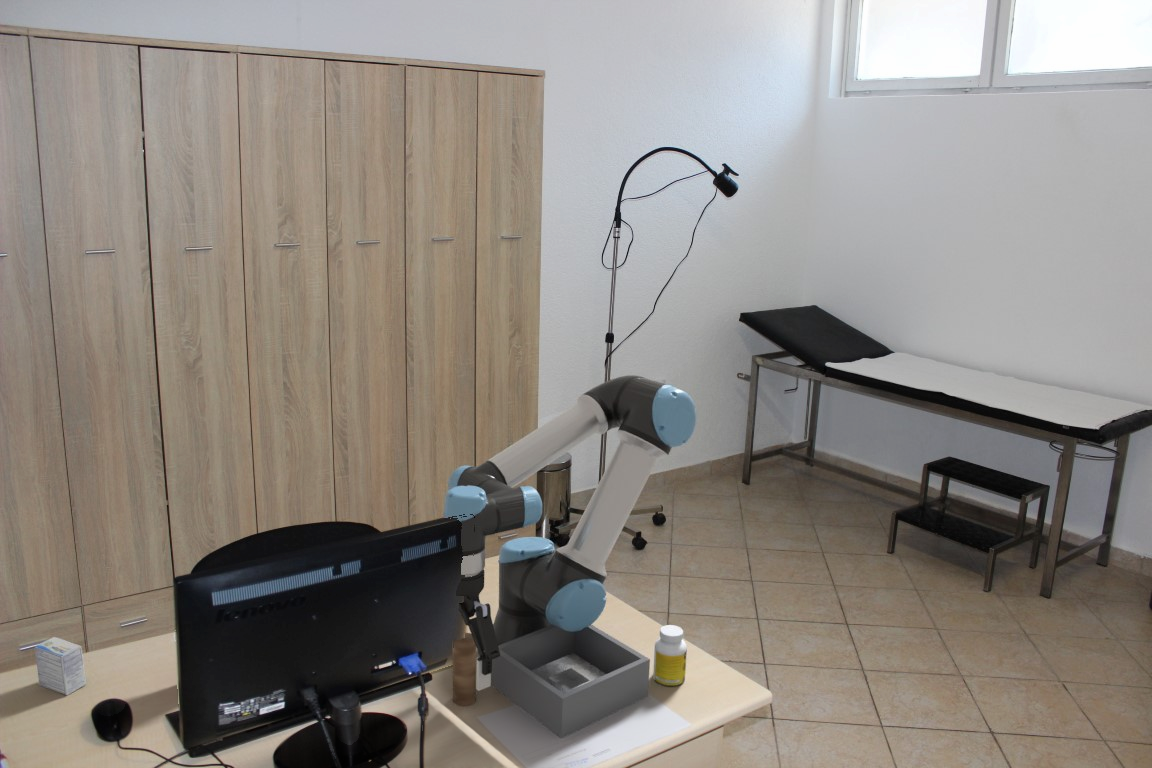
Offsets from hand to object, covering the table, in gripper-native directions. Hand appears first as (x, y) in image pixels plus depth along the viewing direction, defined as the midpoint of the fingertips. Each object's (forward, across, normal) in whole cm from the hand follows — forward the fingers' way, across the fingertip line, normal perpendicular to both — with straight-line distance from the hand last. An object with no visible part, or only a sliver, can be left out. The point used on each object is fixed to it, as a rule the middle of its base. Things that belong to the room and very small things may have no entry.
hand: (462, 672), depth 178 cm
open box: (+7, +10, +18) cm, 22 cm away
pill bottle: (+7, +19, +37) cm, 42 cm away
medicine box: (+8, -53, -58) cm, 79 cm away
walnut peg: (+7, 0, 0) cm, 7 cm away
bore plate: (+6, +10, +18) cm, 22 cm away
